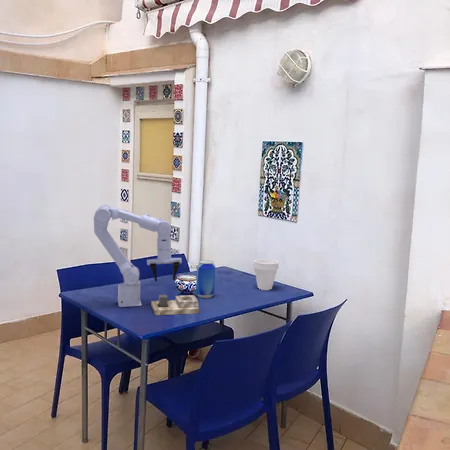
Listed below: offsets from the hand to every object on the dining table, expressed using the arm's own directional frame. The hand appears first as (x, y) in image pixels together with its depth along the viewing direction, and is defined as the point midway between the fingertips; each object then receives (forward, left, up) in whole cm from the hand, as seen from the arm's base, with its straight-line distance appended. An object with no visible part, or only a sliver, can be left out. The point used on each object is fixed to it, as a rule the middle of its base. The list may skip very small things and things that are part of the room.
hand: (164, 280), depth 220 cm
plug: (-2, -8, -11) cm, 13 cm away
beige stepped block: (+3, -8, -10) cm, 14 cm away
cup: (+52, +19, -11) cm, 56 cm away
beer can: (+20, +10, -11) cm, 25 cm away
